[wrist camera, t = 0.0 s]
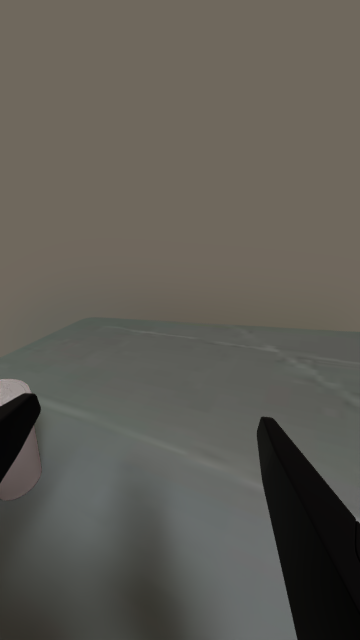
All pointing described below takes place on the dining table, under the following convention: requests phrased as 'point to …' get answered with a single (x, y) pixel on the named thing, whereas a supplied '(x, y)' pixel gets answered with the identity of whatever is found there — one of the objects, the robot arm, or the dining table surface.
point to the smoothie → (28, 460)
